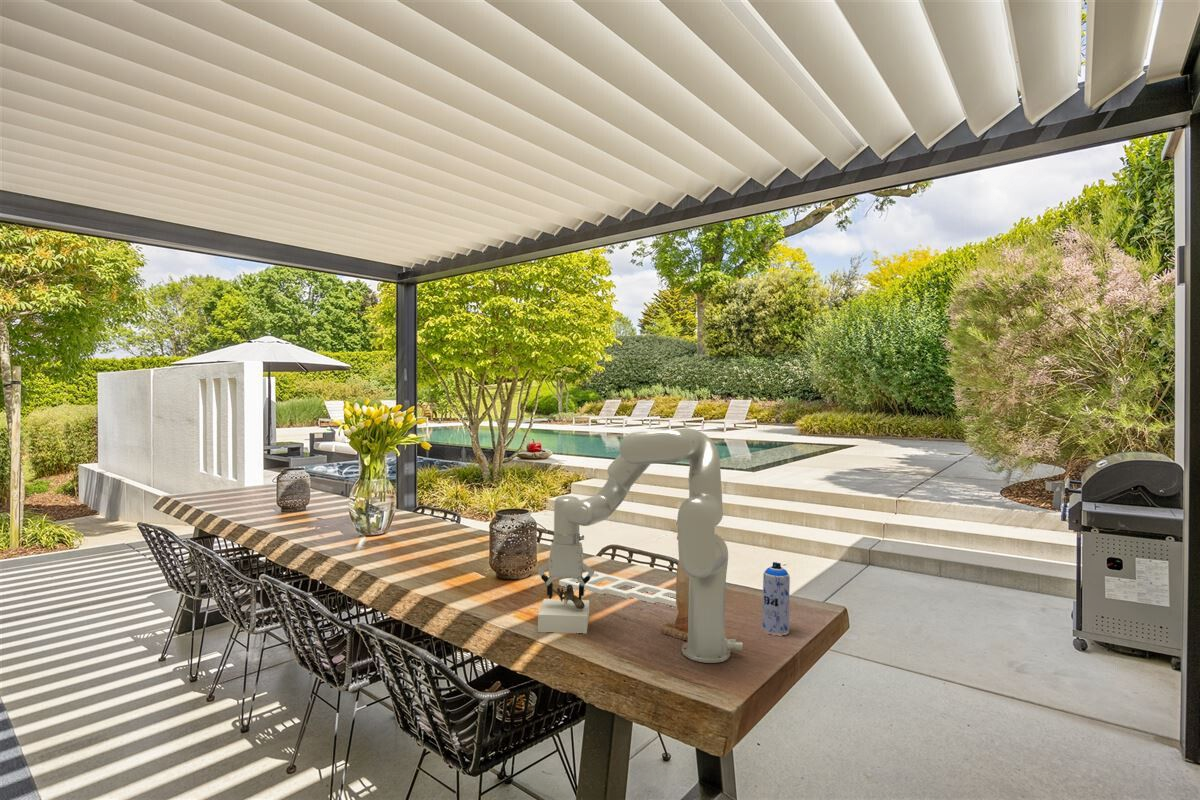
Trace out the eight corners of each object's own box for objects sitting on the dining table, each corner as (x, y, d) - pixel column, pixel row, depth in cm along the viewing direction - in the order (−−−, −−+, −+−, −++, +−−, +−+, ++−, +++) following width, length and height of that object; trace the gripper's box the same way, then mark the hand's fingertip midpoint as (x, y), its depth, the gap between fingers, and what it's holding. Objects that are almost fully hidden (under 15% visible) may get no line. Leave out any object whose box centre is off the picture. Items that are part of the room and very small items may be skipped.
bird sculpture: (680, 624, 182) (679, 517, 182) (715, 633, 174) (714, 522, 175) (660, 635, 173) (659, 523, 174) (695, 645, 166) (694, 527, 166)
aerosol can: (756, 630, 177) (758, 562, 177) (769, 624, 182) (770, 557, 183) (781, 638, 171) (783, 567, 172) (793, 631, 177) (795, 563, 177)
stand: (588, 616, 185) (589, 600, 185) (586, 633, 171) (587, 616, 171) (543, 615, 186) (543, 598, 186) (537, 632, 172) (538, 614, 172)
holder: (694, 604, 201) (694, 596, 201) (664, 618, 187) (665, 609, 187) (591, 577, 229) (591, 570, 229) (558, 587, 215) (558, 580, 215)
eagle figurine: (547, 602, 177) (570, 603, 171) (554, 578, 180) (576, 578, 175) (563, 611, 181) (586, 612, 176) (570, 588, 185) (592, 588, 179)
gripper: (596, 536, 182) (595, 594, 182) (538, 535, 183) (537, 593, 183) (595, 542, 175) (594, 602, 175) (535, 540, 175) (534, 601, 175)
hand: (565, 597), depth 179 cm, fingers closed on eagle figurine, 8 cm apart
